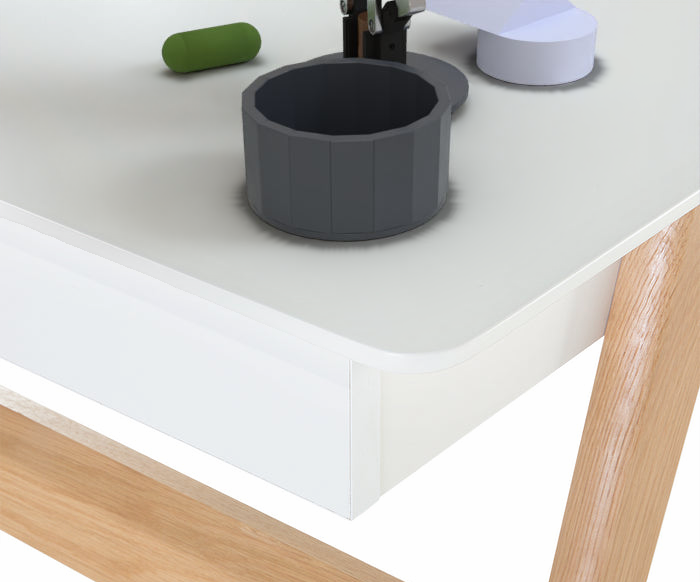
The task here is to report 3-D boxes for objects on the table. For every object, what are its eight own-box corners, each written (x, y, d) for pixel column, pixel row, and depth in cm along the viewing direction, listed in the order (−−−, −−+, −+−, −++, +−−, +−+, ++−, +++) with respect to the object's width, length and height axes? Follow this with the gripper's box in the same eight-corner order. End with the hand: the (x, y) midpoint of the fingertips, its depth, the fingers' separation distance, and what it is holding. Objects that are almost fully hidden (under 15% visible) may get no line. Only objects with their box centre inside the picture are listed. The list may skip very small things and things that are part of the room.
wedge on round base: (417, 48, 99) (539, 95, 91) (418, -36, 95) (546, 5, 87) (494, 21, 104) (616, 63, 96) (498, -60, 100) (627, -23, 92)
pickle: (171, 81, 94) (167, 43, 92) (158, 68, 96) (154, 30, 94) (268, 63, 97) (266, 26, 95) (253, 50, 99) (251, 14, 97)
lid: (329, 152, 83) (328, 65, 79) (253, 82, 93) (248, 2, 89) (503, 114, 87) (509, 30, 84) (412, 51, 97) (414, -26, 94)
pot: (296, 259, 71) (292, 157, 68) (218, 172, 81) (211, 78, 77) (483, 213, 76) (489, 114, 72) (389, 135, 85) (390, 45, 82)
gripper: (271, -215, 83) (282, 48, 94) (379, -168, 71) (378, 127, 82) (370, -225, 86) (370, 32, 96) (490, -182, 74) (476, 106, 84)
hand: (374, 73), depth 89 cm, fingers closed on lid, 2 cm apart
